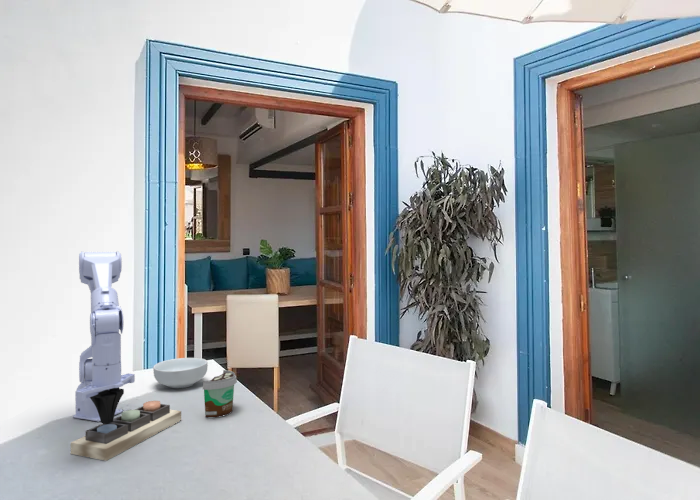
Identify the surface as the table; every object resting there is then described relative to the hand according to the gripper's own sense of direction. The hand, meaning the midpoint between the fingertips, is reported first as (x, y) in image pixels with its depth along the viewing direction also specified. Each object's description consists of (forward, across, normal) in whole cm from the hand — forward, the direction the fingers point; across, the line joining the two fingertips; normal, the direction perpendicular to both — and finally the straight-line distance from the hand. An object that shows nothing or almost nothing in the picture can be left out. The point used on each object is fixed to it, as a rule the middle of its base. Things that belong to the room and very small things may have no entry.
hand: (106, 422), depth 105 cm
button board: (+6, +7, 0) cm, 9 cm away
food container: (+6, +28, -12) cm, 31 cm away
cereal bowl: (+6, +45, +16) cm, 48 cm away
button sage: (+2, +7, 0) cm, 7 cm away
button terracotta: (+2, +14, 0) cm, 14 cm away
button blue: (+3, 0, 0) cm, 3 cm away
